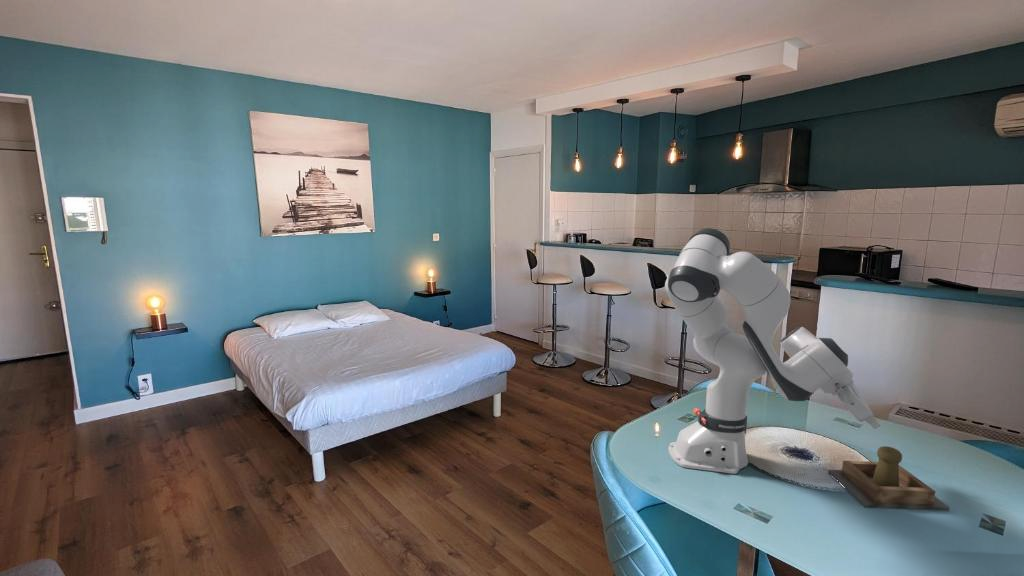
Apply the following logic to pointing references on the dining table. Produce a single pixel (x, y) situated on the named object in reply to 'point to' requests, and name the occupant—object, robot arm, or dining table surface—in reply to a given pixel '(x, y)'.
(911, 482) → the collar
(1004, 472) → the dining table surface
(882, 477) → the cork
